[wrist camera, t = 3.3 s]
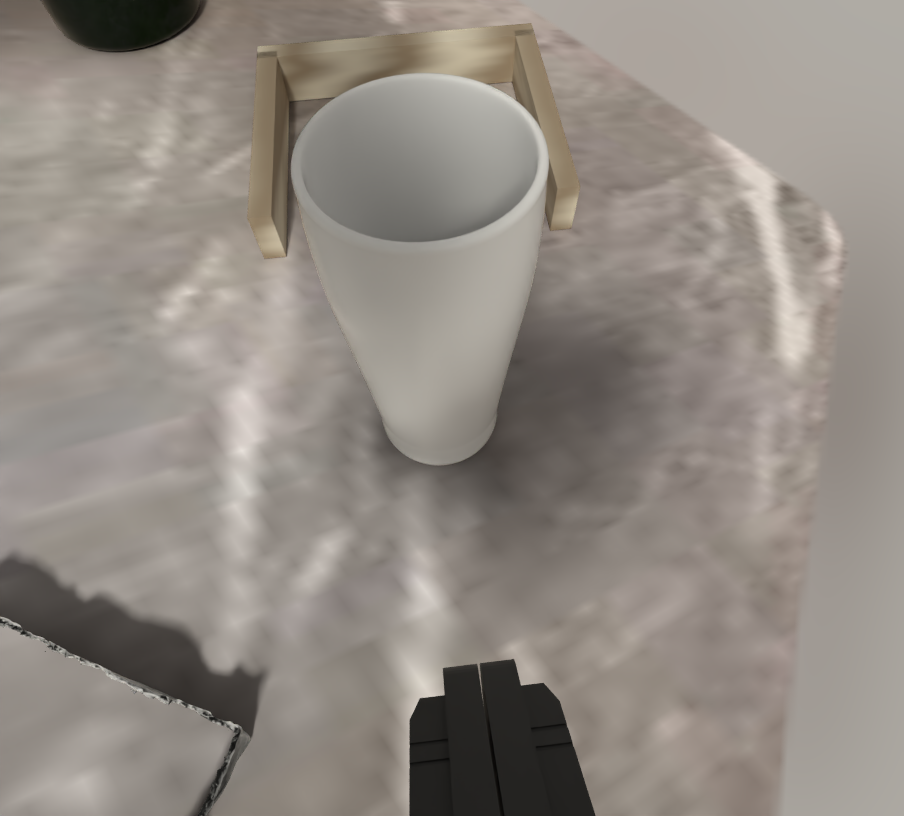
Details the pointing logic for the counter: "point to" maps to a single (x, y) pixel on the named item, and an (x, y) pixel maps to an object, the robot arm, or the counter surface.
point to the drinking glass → (426, 246)
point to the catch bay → (371, 58)
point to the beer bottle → (120, 21)
